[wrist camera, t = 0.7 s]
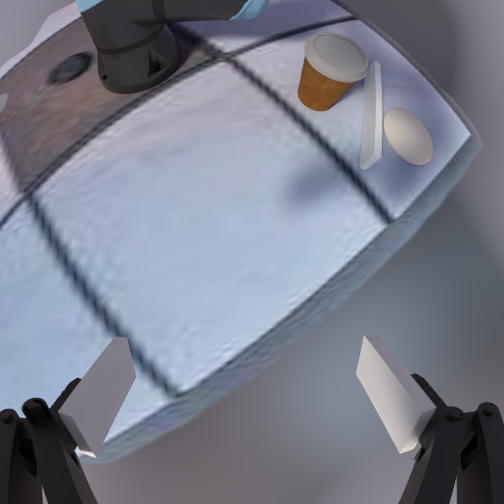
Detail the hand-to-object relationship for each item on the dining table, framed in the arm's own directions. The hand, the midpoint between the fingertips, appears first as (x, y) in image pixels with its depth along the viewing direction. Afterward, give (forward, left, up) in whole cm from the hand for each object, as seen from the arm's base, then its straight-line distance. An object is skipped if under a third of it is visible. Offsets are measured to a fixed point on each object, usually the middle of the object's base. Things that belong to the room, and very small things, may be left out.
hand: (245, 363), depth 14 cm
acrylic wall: (-32, +23, -22) cm, 45 cm away
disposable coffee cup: (-34, +14, -22) cm, 43 cm away
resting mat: (-29, +32, -22) cm, 49 cm away
